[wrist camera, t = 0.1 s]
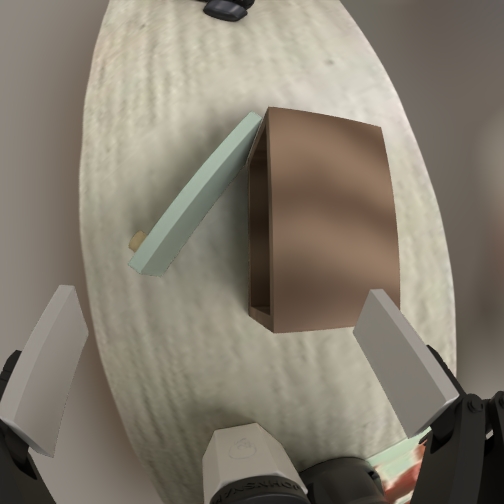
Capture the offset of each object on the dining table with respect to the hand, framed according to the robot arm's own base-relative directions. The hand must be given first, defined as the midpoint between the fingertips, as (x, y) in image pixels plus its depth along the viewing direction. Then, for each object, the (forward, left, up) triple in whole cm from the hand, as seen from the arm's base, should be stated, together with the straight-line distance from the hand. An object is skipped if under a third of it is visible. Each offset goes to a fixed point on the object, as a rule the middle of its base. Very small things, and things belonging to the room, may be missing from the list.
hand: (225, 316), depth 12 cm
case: (+6, -8, -15) cm, 19 cm away
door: (+8, +2, -15) cm, 17 cm away
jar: (-18, -2, -16) cm, 24 cm away
